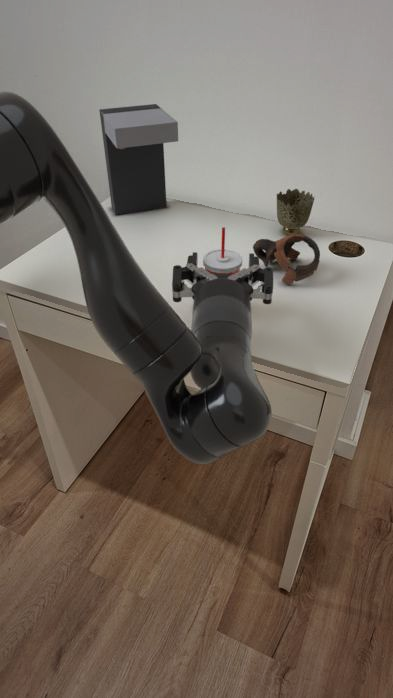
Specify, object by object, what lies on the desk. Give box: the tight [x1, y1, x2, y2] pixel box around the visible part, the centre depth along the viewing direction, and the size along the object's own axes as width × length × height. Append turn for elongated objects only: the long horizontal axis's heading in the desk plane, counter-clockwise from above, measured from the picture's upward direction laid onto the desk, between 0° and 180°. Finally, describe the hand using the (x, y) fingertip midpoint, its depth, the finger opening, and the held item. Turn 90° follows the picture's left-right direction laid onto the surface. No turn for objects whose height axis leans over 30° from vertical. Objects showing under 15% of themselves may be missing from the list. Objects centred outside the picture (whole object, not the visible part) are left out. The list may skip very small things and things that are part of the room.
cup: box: [276, 188, 315, 236], centre depth 98 cm, size 8×7×8 cm
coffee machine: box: [98, 103, 179, 216], centre depth 100 cm, size 14×12×21 cm
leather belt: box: [252, 233, 321, 286], centre depth 87 cm, size 12×10×8 cm
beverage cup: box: [202, 226, 243, 274], centre depth 75 cm, size 6×6×14 cm
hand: (223, 258), depth 73 cm, fingers open, 8 cm apart
